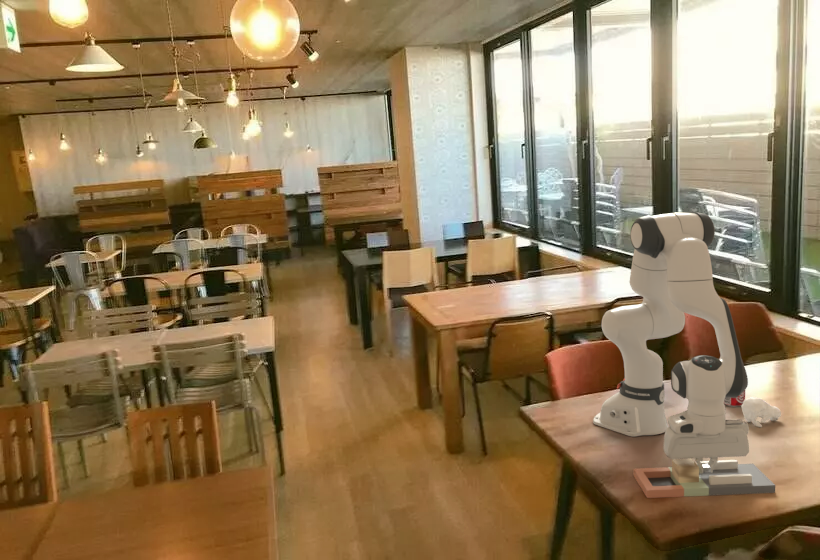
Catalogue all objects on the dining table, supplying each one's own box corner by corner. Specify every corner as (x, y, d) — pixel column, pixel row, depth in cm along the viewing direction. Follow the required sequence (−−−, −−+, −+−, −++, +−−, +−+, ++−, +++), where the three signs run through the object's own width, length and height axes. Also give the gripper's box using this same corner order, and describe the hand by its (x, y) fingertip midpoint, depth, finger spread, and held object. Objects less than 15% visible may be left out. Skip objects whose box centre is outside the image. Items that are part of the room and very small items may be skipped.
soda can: (746, 402, 225) (747, 367, 223) (743, 409, 219) (744, 373, 217) (723, 399, 229) (723, 365, 227) (719, 406, 223) (720, 371, 221)
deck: (752, 470, 178) (753, 463, 178) (775, 492, 167) (775, 485, 166) (633, 475, 180) (633, 468, 180) (647, 497, 168) (647, 490, 168)
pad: (690, 473, 179) (691, 466, 179) (708, 495, 167) (708, 487, 167) (667, 474, 180) (667, 467, 179) (684, 496, 168) (684, 488, 167)
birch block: (691, 472, 175) (691, 458, 175) (699, 482, 170) (699, 467, 170) (671, 473, 176) (671, 459, 175) (678, 482, 171) (678, 468, 170)
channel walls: (736, 466, 177) (736, 459, 177) (751, 483, 168) (751, 475, 168) (697, 468, 177) (697, 461, 177) (710, 484, 169) (710, 477, 168)
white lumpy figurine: (740, 394, 208) (773, 392, 211) (737, 421, 210) (770, 419, 212) (754, 401, 202) (789, 399, 205) (751, 428, 204) (785, 426, 206)
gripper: (743, 414, 173) (742, 465, 175) (661, 418, 174) (661, 468, 176) (754, 424, 167) (753, 476, 169) (669, 427, 168) (669, 479, 170)
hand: (705, 472), depth 173 cm, fingers closed
